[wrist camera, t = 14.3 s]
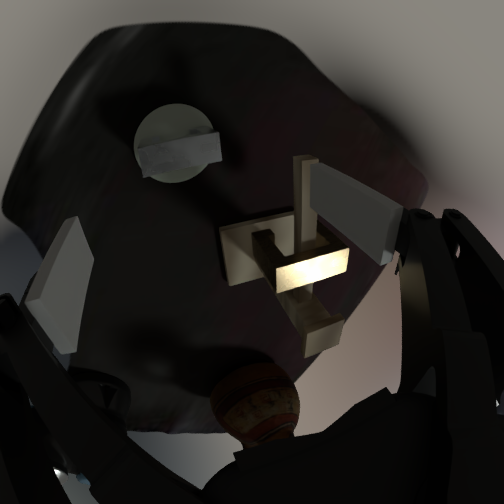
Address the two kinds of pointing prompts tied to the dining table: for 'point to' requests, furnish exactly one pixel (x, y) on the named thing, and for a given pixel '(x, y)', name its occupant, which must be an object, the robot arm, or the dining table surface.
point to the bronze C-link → (299, 259)
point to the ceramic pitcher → (256, 404)
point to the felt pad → (171, 134)
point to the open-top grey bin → (179, 151)
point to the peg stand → (288, 242)
